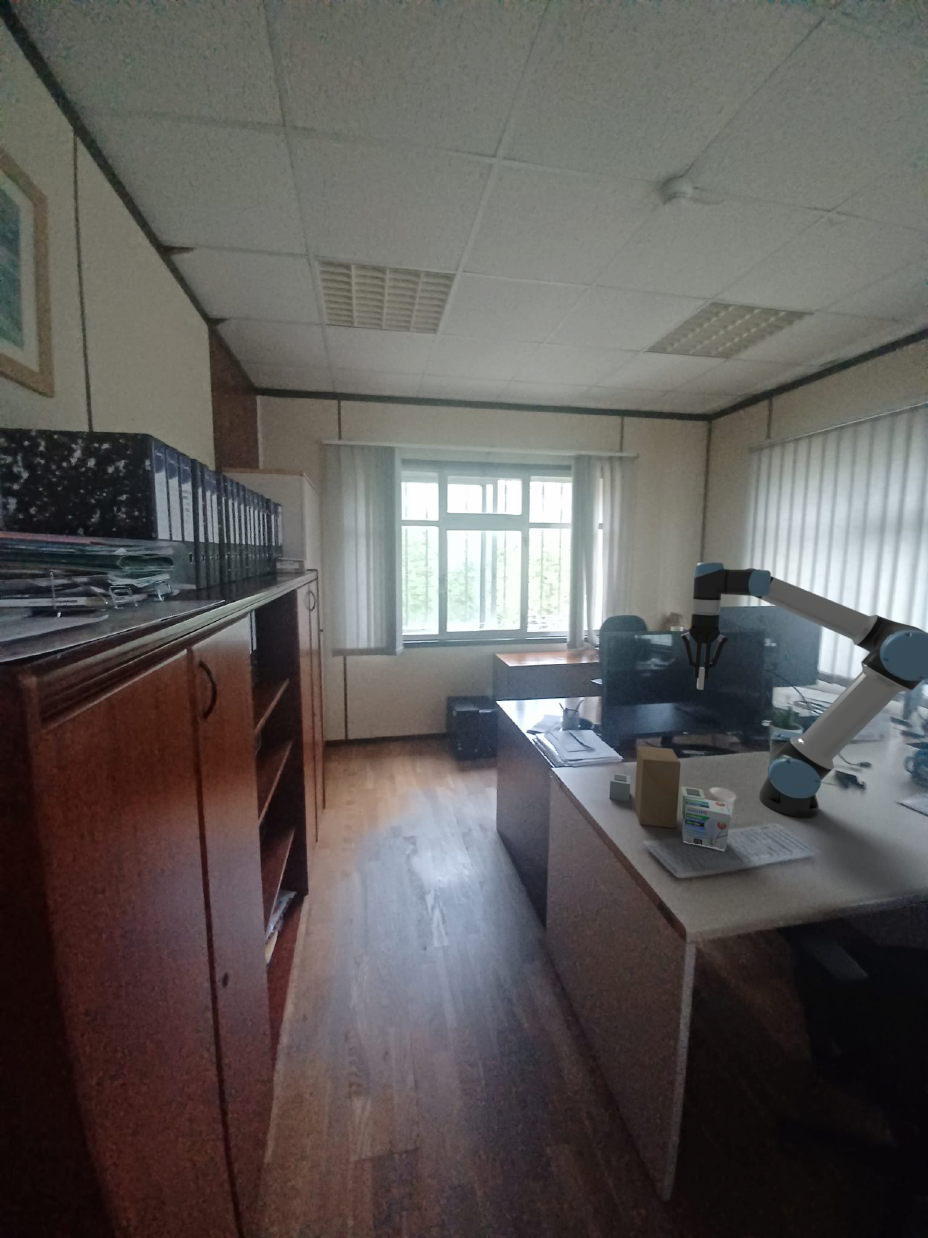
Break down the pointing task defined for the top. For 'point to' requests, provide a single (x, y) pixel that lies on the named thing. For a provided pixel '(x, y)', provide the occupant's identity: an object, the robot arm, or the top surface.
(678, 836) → the top surface
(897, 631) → the robot arm
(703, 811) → the light bulb box
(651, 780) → the wooden block
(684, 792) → the sage cube
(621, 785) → the slate cube
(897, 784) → the top surface
